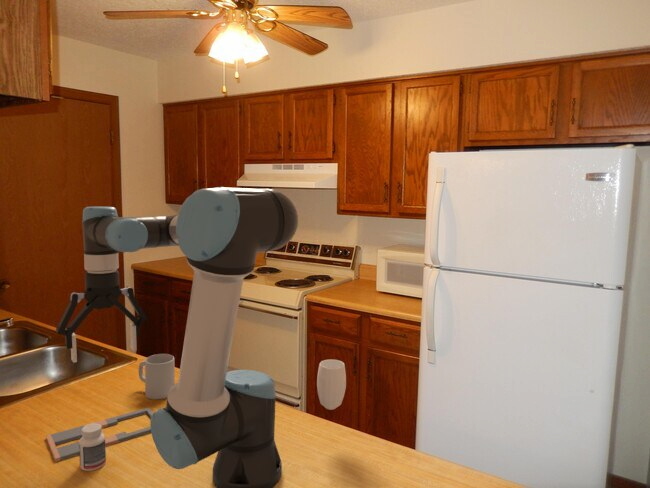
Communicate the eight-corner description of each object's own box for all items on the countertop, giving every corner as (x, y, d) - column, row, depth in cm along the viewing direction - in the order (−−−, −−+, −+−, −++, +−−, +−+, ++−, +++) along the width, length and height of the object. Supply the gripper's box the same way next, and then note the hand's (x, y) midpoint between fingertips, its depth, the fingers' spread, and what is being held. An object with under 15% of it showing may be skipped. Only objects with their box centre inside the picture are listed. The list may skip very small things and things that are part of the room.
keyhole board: (164, 428, 121) (164, 425, 121) (55, 461, 105) (55, 458, 105) (148, 410, 130) (148, 407, 130) (46, 438, 114) (46, 435, 114)
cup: (349, 444, 116) (352, 365, 114) (328, 454, 112) (331, 372, 109) (330, 432, 122) (333, 356, 119) (309, 441, 117) (311, 362, 114)
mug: (180, 390, 143) (180, 356, 142) (162, 401, 135) (162, 366, 134) (149, 383, 147) (148, 350, 146) (129, 394, 139) (128, 359, 138)
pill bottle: (110, 462, 106) (109, 426, 104) (88, 474, 101) (87, 436, 100) (97, 455, 108) (96, 419, 107) (75, 466, 104) (73, 429, 103)
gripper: (149, 264, 122) (151, 341, 125) (39, 272, 107) (44, 360, 110) (159, 268, 117) (160, 349, 119) (44, 278, 101) (49, 371, 104)
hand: (104, 355), depth 114 cm, fingers open, 13 cm apart
